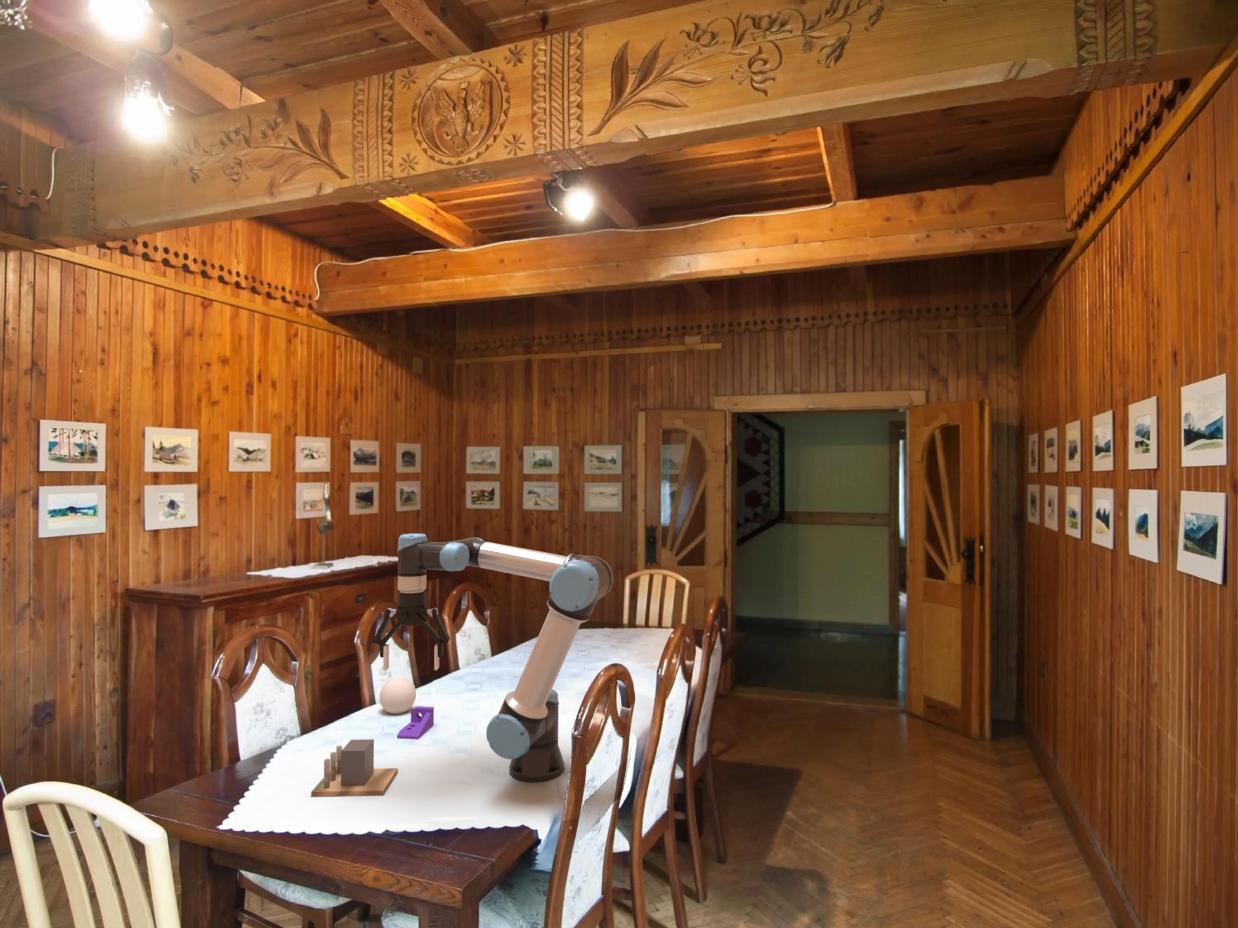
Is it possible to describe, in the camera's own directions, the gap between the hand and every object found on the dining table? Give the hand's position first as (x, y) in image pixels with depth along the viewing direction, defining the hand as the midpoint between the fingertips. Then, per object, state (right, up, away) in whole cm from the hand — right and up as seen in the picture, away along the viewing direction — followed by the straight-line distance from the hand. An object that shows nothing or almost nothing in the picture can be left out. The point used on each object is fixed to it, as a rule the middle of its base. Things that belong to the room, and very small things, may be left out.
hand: (411, 669), depth 195 cm
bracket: (-8, -30, +32) cm, 44 cm away
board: (-13, -29, -6) cm, 32 cm away
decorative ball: (-19, -30, +51) cm, 62 cm away
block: (-12, -27, -6) cm, 31 cm away
